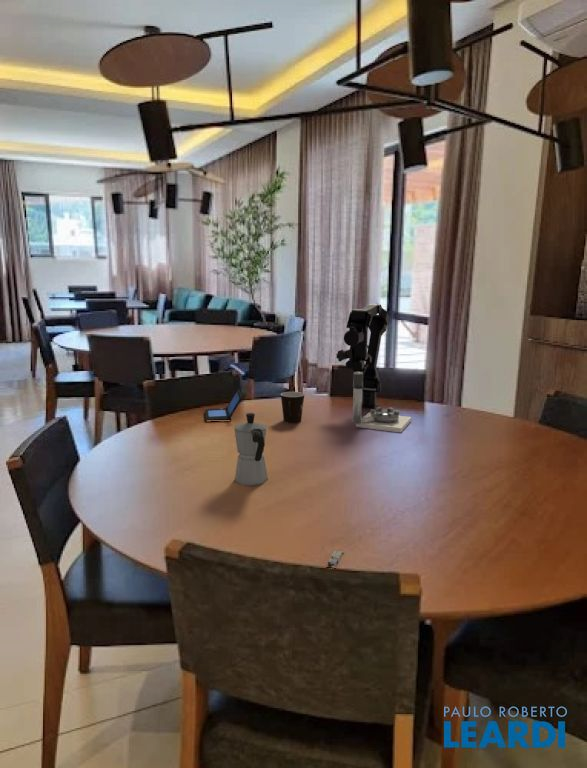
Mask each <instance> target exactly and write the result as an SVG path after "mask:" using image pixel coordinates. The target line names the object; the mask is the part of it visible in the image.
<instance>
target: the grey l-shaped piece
mask: <svg viewBox="0 0 587 768" xmlns="http://www.w3.org/2000/svg"><path fill="white" fill-rule="evenodd" d="M352 375H353V376H352V389H353V396H352V400H353V401H352V424H360V423H363V422H370V421H378V422H395V421H398V420H399V416H400V410H399V409H398V410H397V409H396V410H395V409H394V408H393V407H387V409H382V408H381V407H380V406H376V407H375V409H370V413H371V417H364V416H363V417H364V418H363V417H362V408H363V406H362V388H363V372H360V371H355V372H354V371H353V373H352Z"/></svg>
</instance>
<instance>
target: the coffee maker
mask: <svg viewBox="0 0 587 768" xmlns="http://www.w3.org/2000/svg"><path fill="white" fill-rule="evenodd" d="M255 415H256V414H255V413H254V412H249V413H248V412H247V413H245V416H246V422H243V423H239V424H235V425H234V430H233V431H234V436H235V442H236V448H237V449H236V450H237V453H238V454H239V455H238V457H237V463H236V467H235V468H236V469H235V474H234V475H235V476H234V481H235V482H236V483H237V484H238V485H240V484H241V486H247V487H255V486H260V485H263V484H265V483H266V482H267V481H269V478H268V472H267V466H266V461H265V456H264V454H263V453H264V451H265V450H264V449H265V444H266V443H265V442H266V434H267V426H268V425H267V424H264V423H260V422H254V421H255V420H254V419H255Z"/></svg>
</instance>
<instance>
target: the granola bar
mask: <svg viewBox="0 0 587 768" xmlns="http://www.w3.org/2000/svg"><path fill="white" fill-rule="evenodd" d="M343 554H345V551H344V550H340V551H339V550H334V549H333V550H332V554H331V555H330V557H329V560H328V561H327V563H326V565H325V566H324V568H325V567H332V566H335V567H336V566H337V567H338V565H337V564H339V563H338V562H340V561H341V558H342V556H343ZM337 567H336V568H337Z"/></svg>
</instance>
